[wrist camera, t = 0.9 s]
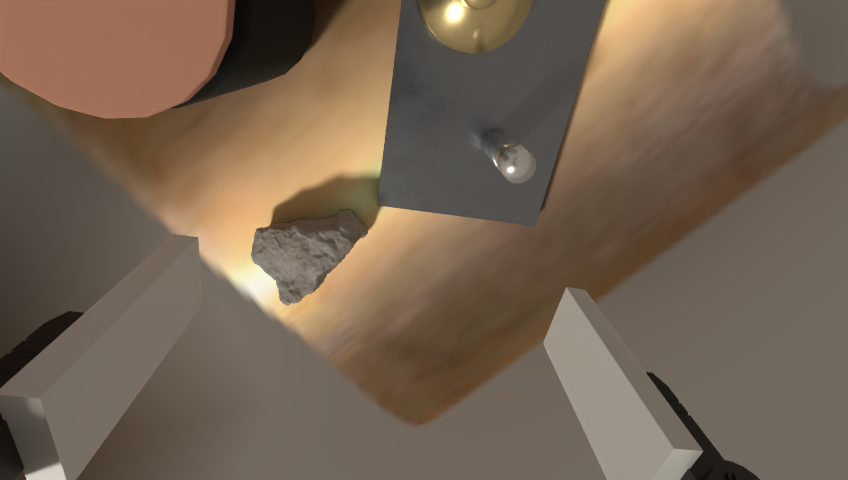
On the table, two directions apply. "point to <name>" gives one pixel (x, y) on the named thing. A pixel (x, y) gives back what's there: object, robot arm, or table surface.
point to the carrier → (482, 103)
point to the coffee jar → (148, 50)
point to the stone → (305, 251)
